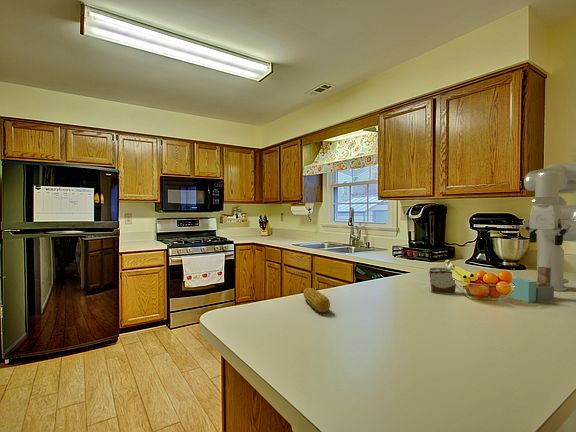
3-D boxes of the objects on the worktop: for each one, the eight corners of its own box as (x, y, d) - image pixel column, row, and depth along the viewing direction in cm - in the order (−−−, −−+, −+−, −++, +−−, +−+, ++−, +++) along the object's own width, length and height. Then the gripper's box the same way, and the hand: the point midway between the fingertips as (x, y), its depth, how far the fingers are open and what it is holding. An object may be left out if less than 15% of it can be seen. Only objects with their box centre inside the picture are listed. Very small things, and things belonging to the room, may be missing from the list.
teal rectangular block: (518, 296, 132) (518, 277, 132) (535, 301, 125) (536, 281, 125) (510, 297, 131) (511, 278, 131) (528, 302, 124) (528, 282, 124)
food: (332, 314, 108) (332, 296, 108) (316, 315, 106) (316, 297, 106) (311, 297, 128) (312, 282, 128) (298, 298, 127) (298, 283, 127)
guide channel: (538, 295, 135) (538, 283, 135) (553, 299, 129) (554, 286, 129) (523, 296, 132) (523, 284, 132) (537, 300, 127) (538, 287, 126)
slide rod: (542, 288, 133) (543, 266, 133) (550, 289, 131) (550, 267, 130) (530, 289, 131) (530, 267, 131) (537, 291, 128) (538, 268, 128)
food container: (452, 290, 142) (453, 267, 141) (458, 294, 136) (459, 270, 135) (423, 289, 143) (424, 267, 143) (428, 292, 137) (428, 269, 136)
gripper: (518, 202, 137) (517, 241, 138) (564, 201, 121) (562, 246, 122) (531, 202, 140) (530, 241, 140) (577, 201, 123) (576, 246, 124)
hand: (545, 243), depth 131 cm, fingers open, 9 cm apart
